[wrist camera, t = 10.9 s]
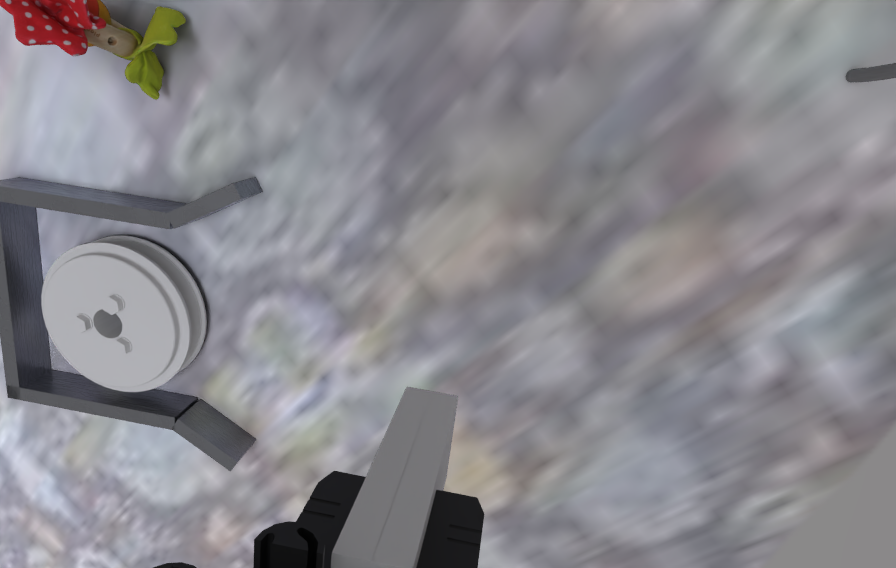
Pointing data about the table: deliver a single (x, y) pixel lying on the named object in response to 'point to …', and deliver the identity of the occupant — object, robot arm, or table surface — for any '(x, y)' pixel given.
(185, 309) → the grey pulley wheel
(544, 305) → the table surface
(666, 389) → the table surface
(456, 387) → the table surface
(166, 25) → the bird rattle
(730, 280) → the table surface
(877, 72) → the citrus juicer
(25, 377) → the steel bracket
